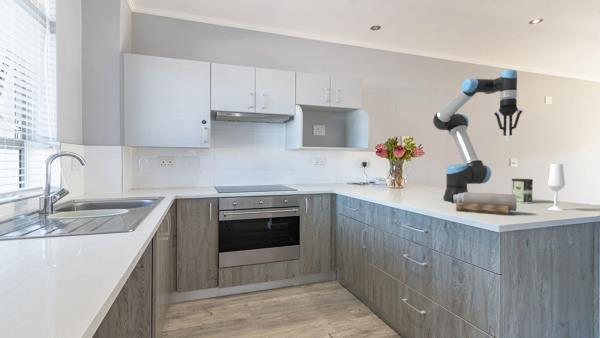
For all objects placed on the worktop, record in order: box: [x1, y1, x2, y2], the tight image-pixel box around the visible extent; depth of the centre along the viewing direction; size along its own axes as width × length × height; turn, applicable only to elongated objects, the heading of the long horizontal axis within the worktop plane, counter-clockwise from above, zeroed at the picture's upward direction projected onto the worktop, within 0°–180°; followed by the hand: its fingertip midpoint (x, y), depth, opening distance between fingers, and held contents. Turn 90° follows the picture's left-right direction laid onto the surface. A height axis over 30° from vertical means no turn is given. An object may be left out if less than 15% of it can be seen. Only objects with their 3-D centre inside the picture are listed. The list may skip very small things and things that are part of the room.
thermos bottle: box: [450, 191, 518, 212], centre depth 147 cm, size 8×8×28 cm
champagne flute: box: [547, 163, 566, 212], centre depth 148 cm, size 7×7×24 cm
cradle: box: [455, 203, 510, 216], centre depth 150 cm, size 22×18×4 cm
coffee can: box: [511, 178, 534, 204], centre depth 174 cm, size 10×10×14 cm
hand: (507, 141), depth 159 cm, fingers closed
